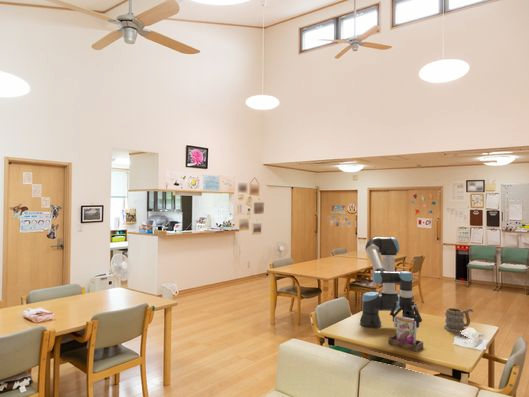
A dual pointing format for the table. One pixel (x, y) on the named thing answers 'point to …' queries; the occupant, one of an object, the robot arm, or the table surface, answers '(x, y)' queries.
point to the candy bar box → (405, 330)
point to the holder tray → (405, 344)
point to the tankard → (456, 319)
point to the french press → (407, 314)
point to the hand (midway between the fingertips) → (405, 329)
